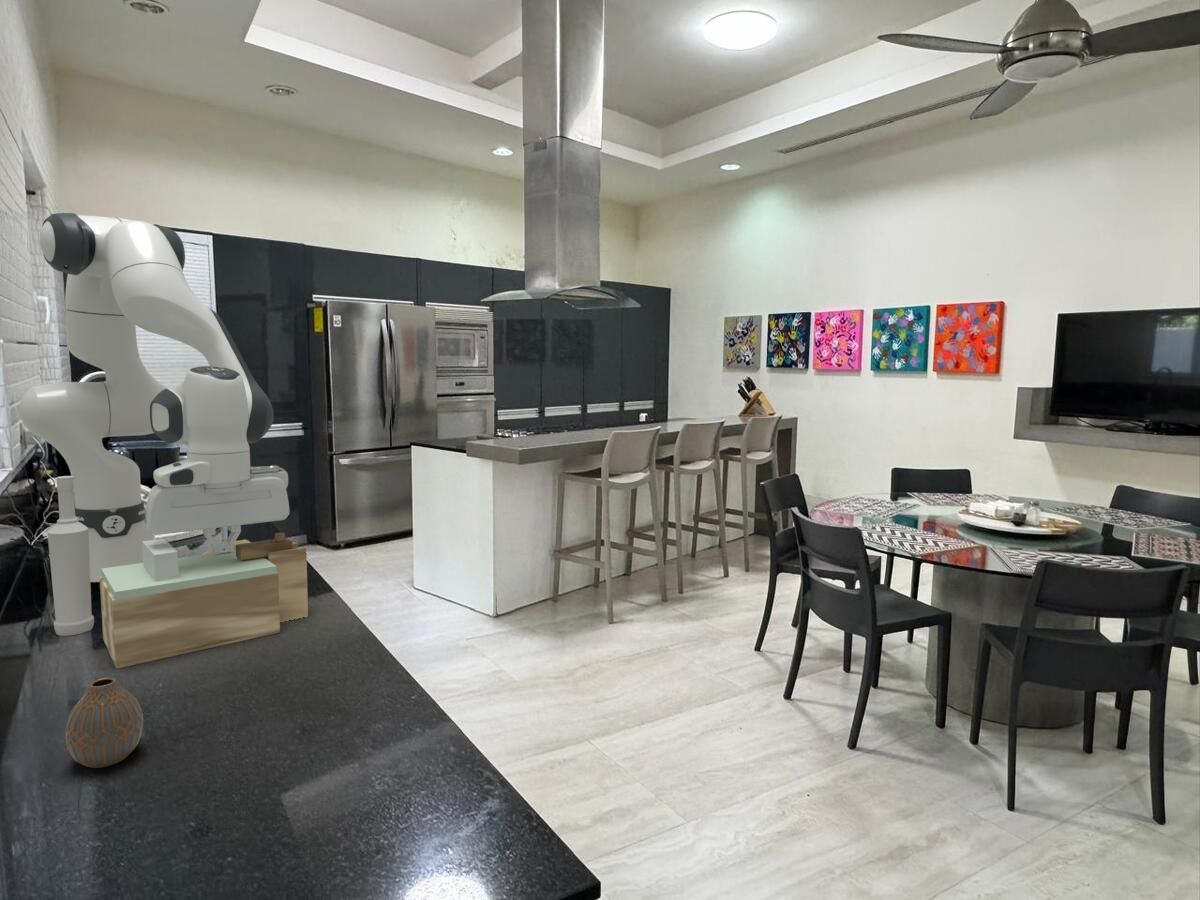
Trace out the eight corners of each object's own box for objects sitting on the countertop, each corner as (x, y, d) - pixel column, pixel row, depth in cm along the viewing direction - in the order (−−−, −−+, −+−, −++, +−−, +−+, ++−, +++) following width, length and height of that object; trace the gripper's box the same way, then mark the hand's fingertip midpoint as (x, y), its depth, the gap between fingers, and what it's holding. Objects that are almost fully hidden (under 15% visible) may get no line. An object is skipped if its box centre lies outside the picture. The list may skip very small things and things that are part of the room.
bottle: (72, 637, 108) (62, 480, 105) (45, 634, 109) (34, 478, 106) (102, 626, 113) (93, 475, 110) (76, 623, 114) (66, 473, 111)
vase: (159, 748, 78) (155, 674, 77) (97, 782, 71) (92, 701, 70) (115, 736, 80) (111, 664, 79) (51, 768, 74) (46, 690, 73)
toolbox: (103, 638, 108) (98, 563, 107) (289, 602, 127) (287, 537, 125) (116, 668, 98) (111, 585, 96) (317, 624, 116) (315, 553, 115)
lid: (101, 576, 107) (99, 543, 107) (250, 554, 121) (249, 525, 121) (115, 600, 97) (113, 564, 96) (276, 573, 111) (275, 541, 110)
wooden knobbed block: (236, 556, 115) (235, 537, 114) (286, 549, 120) (286, 530, 120) (241, 560, 112) (240, 541, 112) (292, 552, 118) (291, 534, 117)
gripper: (281, 462, 119) (284, 540, 121) (141, 471, 106) (146, 559, 107) (293, 466, 115) (296, 547, 116) (148, 476, 101) (153, 568, 103)
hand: (222, 553), depth 112 cm, fingers closed
